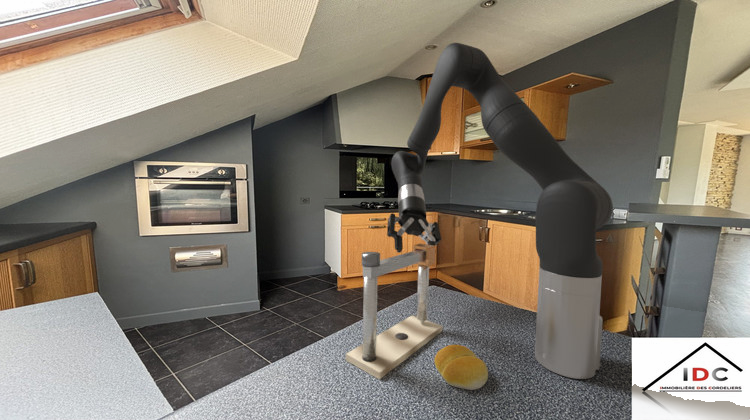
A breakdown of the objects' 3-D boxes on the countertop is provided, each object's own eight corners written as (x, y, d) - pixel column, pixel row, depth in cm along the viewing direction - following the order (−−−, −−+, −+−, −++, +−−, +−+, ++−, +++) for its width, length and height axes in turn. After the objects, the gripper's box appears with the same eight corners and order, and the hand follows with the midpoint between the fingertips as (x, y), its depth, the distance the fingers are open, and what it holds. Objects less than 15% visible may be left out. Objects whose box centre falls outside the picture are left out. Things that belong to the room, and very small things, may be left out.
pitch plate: (411, 320, 69) (412, 314, 69) (442, 331, 64) (442, 325, 64) (345, 360, 52) (345, 353, 52) (379, 379, 47) (379, 371, 47)
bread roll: (454, 397, 43) (454, 371, 43) (428, 362, 52) (428, 341, 52) (500, 387, 46) (501, 363, 45) (468, 356, 54) (468, 336, 54)
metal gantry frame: (421, 317, 68) (423, 238, 66) (433, 321, 65) (436, 240, 64) (356, 358, 51) (358, 253, 50) (370, 365, 49) (371, 256, 47)
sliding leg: (418, 316, 67) (420, 243, 66) (433, 322, 64) (435, 245, 63) (411, 321, 65) (412, 245, 64) (426, 326, 62) (428, 247, 61)
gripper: (392, 190, 77) (394, 241, 67) (440, 200, 80) (448, 251, 70) (383, 206, 82) (384, 256, 72) (428, 215, 86) (435, 264, 76)
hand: (415, 253), depth 71 cm, fingers open, 8 cm apart
